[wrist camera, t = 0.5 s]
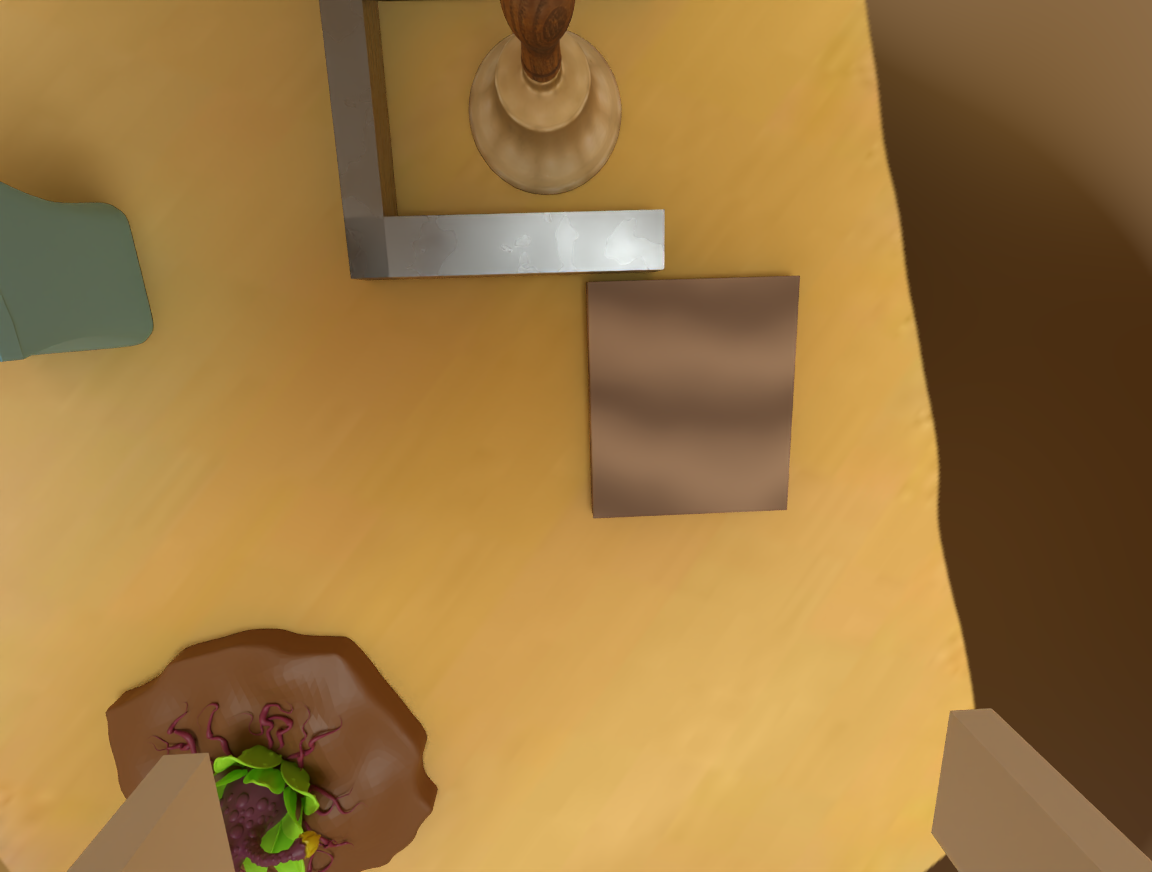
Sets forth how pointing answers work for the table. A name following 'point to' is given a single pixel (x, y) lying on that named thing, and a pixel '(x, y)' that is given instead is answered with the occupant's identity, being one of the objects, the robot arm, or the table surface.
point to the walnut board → (691, 394)
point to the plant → (286, 748)
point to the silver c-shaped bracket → (449, 240)
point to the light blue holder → (67, 278)
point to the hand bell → (544, 101)
